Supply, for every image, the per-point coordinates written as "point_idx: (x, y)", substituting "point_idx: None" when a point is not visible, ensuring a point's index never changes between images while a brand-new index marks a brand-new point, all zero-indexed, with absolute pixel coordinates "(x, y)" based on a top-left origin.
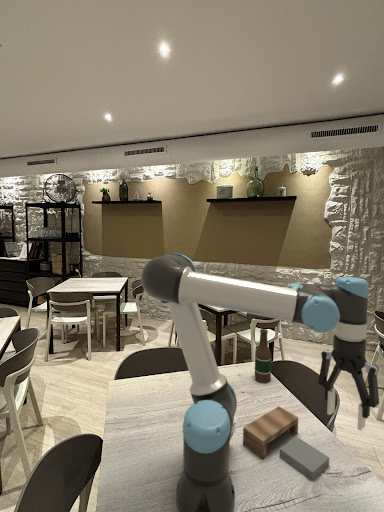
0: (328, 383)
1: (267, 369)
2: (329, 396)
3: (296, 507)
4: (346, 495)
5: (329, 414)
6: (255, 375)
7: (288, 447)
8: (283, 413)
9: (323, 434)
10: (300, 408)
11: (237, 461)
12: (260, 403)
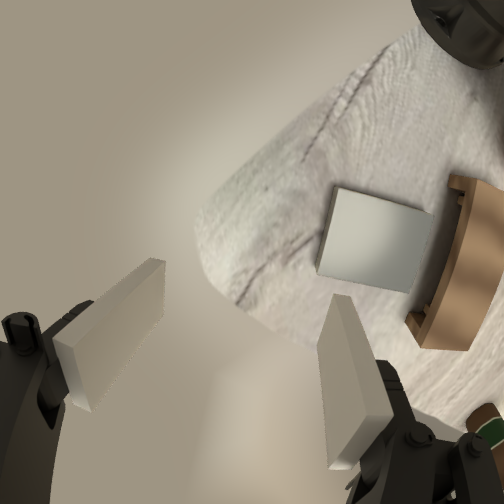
0: (412, 492)
1: (483, 435)
2: (368, 380)
3: (334, 85)
4: (254, 198)
5: (336, 295)
6: (496, 410)
7: (417, 236)
8: (456, 334)
9: None
10: None
11: (481, 132)
12: (485, 351)
